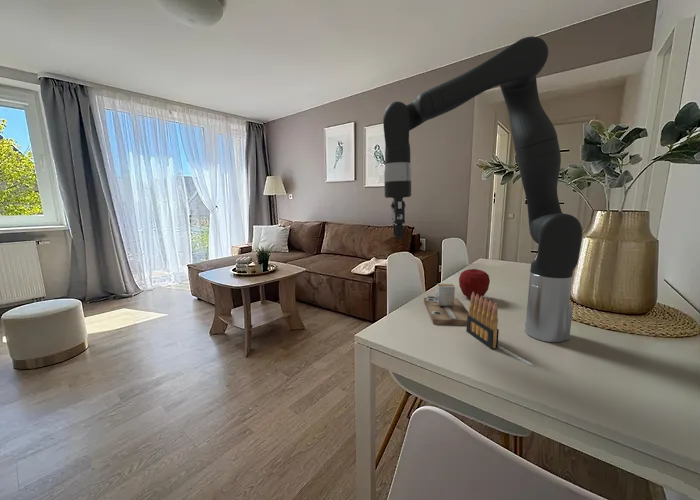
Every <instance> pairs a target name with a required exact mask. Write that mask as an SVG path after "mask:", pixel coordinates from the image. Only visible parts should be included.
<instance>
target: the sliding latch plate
mask: <svg viewBox="0 0 700 500" xmlns="http://www.w3.org/2000/svg"><path fill="white" fill-rule="evenodd" d="M430 300H431V301H437V293H436V294H433V295H427V297H423V303H424V305H425V307H426V310H427V313H428V314H429V318H430V320H431V323H432V324H433V325H447V326H449V325H453V326H458V325H459V326H467V317H468V315H469V310H468V309H466V308H465V306H464V304H463V303H461V301H460V300H459V299H458V298H456V297H454V306H439V305H438V303H430Z"/></svg>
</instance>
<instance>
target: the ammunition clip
mask: <svg viewBox="0 0 700 500" xmlns="http://www.w3.org/2000/svg"><path fill="white" fill-rule="evenodd" d="M469 301H470V302H469V307H468V313H469V315H468V317H467V325H466V329H465V331H466V333H467V334H469V335H470V336H472V337H473V338H475V339H476V340H478V341H479V342H480V343H482V344H483V345H484V346H486V347H487V348H488V349H489V350H497V349H499V348H498V345H499V331H500V329H498V325H499V324H498V323H499V317H498V316H499V315H498V310H499V309H498V304H497V302H496V301H495V302H494V303H493V300H492V299H490V300H489V301H488V298H487V297H485V298H484V296H481V297H480V299H479V295H478V294H477V295H476V297H475V293H474V292H473V293H472V295H471V299H470V300H469Z"/></svg>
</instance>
